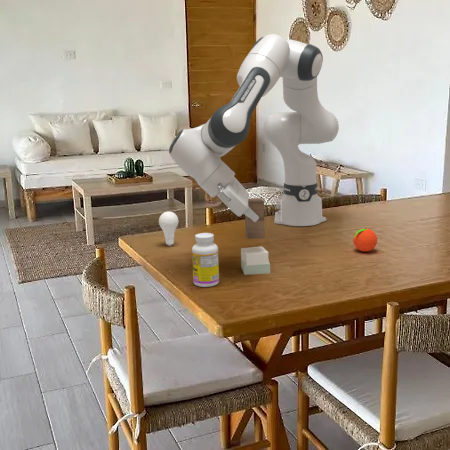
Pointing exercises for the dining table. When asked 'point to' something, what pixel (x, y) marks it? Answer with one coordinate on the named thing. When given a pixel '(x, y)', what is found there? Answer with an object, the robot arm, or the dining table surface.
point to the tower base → (255, 268)
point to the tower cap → (254, 255)
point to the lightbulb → (168, 226)
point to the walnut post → (256, 228)
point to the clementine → (365, 240)
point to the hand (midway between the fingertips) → (257, 217)
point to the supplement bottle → (205, 261)
